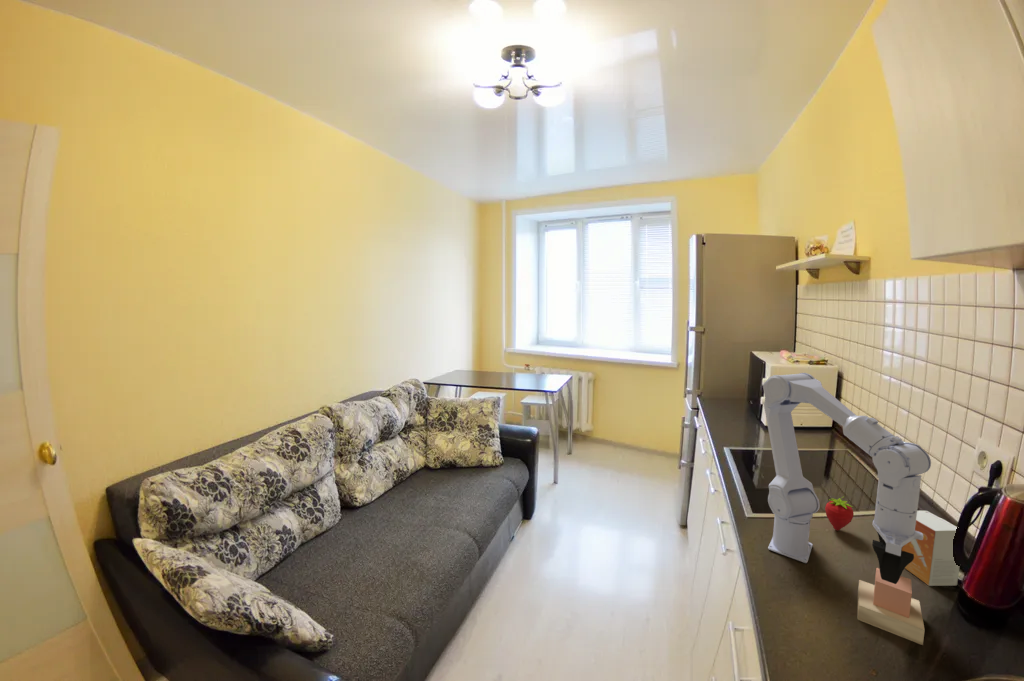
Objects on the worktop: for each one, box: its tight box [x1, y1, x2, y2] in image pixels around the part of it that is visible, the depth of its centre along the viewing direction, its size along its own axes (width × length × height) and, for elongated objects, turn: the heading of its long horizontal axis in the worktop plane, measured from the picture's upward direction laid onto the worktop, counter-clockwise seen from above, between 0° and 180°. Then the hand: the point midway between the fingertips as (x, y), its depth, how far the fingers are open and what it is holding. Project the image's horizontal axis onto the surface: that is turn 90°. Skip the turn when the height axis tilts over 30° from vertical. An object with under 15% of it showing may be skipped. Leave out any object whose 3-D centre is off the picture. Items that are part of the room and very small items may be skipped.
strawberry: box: [824, 495, 855, 531], centre depth 107 cm, size 6×8×10 cm
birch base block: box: [857, 579, 925, 646], centre depth 79 cm, size 9×9×4 cm
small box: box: [902, 510, 960, 587], centre depth 90 cm, size 8×6×13 cm
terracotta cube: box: [873, 567, 913, 618], centre depth 78 cm, size 5×5×5 cm
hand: (888, 570), depth 79 cm, fingers open, 7 cm apart
